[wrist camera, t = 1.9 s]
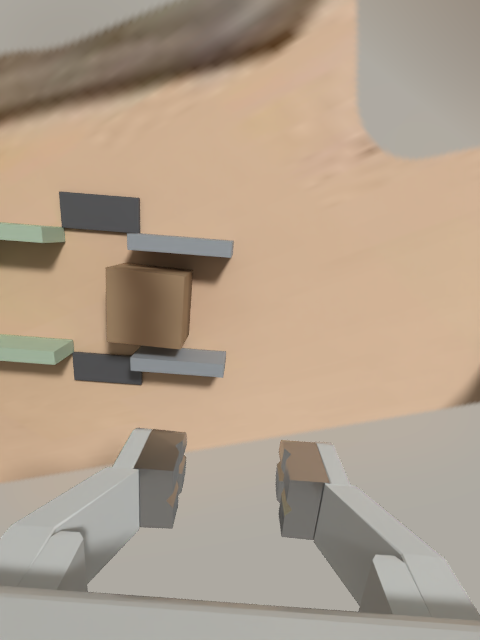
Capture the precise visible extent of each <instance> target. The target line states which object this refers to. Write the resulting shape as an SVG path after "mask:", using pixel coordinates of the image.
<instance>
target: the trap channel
mask: <svg viewBox="0 0 480 640" xmlns="http://www.w3.org/2000/svg"><path fill="white" fill-rule="evenodd" d="M59 197H60V209H61V221H62V227H52V226H39V225H27V224H14V223H2V222H0V240H12V241H24V242H37V243H53V242H65V233H64V228H76V229H89V230H101V231H114V232H127V248H128V250H139V251H152V252H164V253H177V254H190V255H202V256H215V257H228V258H231V257H232V255H233V243H234V241H229V240H216V239H204V238H191V237H178V236H166V235H153V234H141V233H140V198H132V197H120V196H107V195H95V194H82V193H70V192H59ZM70 354H73V367H74V379H75V380H86V381H99V382H112V383H125V384H139V385H142V371H143V372H156V373H170V374H183V375H196V376H209V377H222V378H223V375H224V369H225V360H226V352H224V351H211V350H198V349H185V348H181V350H180V349H171V348H161V347H152V346H141V347H140V348H139V349H138V350H137V351H136V352H135V353H134V354H133V355H132V356H124V355H110V354H97V353H84V352H74V344H73V340H67V339H54V338H41V337H28V336H15V335H2V334H0V361H11V362H25V363H38V364H51V365H56V364H57V363H59V362H60V361H61V360H63V359H64V358H66V357H67V356H69V355H70Z"/></svg>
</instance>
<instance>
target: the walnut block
mask: <svg viewBox="0 0 480 640" xmlns="http://www.w3.org/2000/svg"><path fill="white" fill-rule="evenodd" d="M192 276H193V270H185V269H175V268H166V267H157V266H148V265H139V264H129V263H123V264H119V265H115V266H111V267H107V268H106V317H107V342H113V343H123V344H133V345H142V346H152V347H161V348H171V349H180V350H181V348H182V346H183V344H184V342H185V341H186V339H187V337H188V335H189V324H190V308H191V292H192Z"/></svg>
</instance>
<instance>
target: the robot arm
mask: <svg viewBox="0 0 480 640" xmlns="http://www.w3.org/2000/svg"><path fill="white" fill-rule="evenodd" d="M186 445H187V434H186V432H176V431H166V430H156V429H153V430H152V429H144V428H136V429H134V430H133V431H132V433H131V435H130V436H129V438H128V440H127V442H126V443H125V445H124V447H123V449H122V450H121V452H120V454H119V456H118V457H117V459H116V461H115V463H114V464H113V466H112V467H105V468H104V469H102V470H101V471H99V472H97V473H96V474H94V475H93V476H91V477H89V478H87V479H86V480H84V481H83V482H81V483H79V484H78V485H76V486H74V487H73V488H71V489H70V490H68V491H66V492H65V493H63V494H61V495H60V496H58V497H56V498H55V499H53V500H51V501H50V502H48V503H47V504H45V505H44V506H42V507H40V508H38V509H37V510H35V511H33V512H32V513H30V514H28V515H27V516H25V517H24V518H22V519H20V520H19V521H17V522H15V523H14V524H12V525H11V526H10V527H9V529H7V531H6V532H5V533H4V534H3V536H2V537H1V538H0V640H480V615H479V613H478V611H477V609H476V608H475V606H474V605H473V603H472V602H471V600H470V598H469V597H468V595H467V593H466V592H465V590H464V588H463V587H462V585H461V584H460V582H459V580H458V579H457V577H456V576H455V574H454V572H453V571H452V569H451V568H450V566H449V564H448V562H447V561H446V559H445V558H444V557H443V556H442V555H440V554H439V553H438V552H437V551H435V550H434V549H433V548H432V547H430V546H429V545H428V544H427V543H426V542H424V541H423V540H422V539H421V538H420V537H418V536H417V535H416V534H415V533H413V532H412V531H411V530H410V529H409V528H407V527H406V526H405V525H404V524H402V523H401V522H400V521H399V520H398V519H396V518H395V517H394V516H393V515H391V514H390V513H389V512H388V511H387V510H385V509H384V508H383V507H382V506H381V505H379V504H378V503H377V502H376V501H374V500H373V499H372V498H371V497H370V496H368V495H367V494H366V493H365V492H363V491H362V490H361V489H360V488H358V487H357V486H352V485H351V484H350V481H349V479H348V477H347V475H346V472H345V470H344V468H343V465H342V463H341V461H340V458H339V456H338V454H337V451H336V449H335V447H334V445H333V444H332V443H328V442H299V441H286V440H281V442H280V448H279V455H280V462H279V463H278V464H277V471H276V495H277V500H278V501H279V503H280V508H279V519H280V528H281V536H282V537H289V538H299V539H308V540H314V543H315V544H316V546H317V547H318V549H319V550H320V551H321V552H322V554H323V555H324V557H325V558H326V560H327V561H328V562H329V564H330V565H331V567H332V568H333V569H334V571H335V572H336V574H337V575H338V576H339V578H340V579H341V581H342V582H343V583H344V585H345V586H346V587H347V589H348V590H349V592H350V593H351V594H352V596H353V597H354V599H355V600H356V601H357V603H358V604H359V606H360V608H359V612H353V611H340V610H324V609H311V608H298V607H284V606H271V605H257V604H243V603H230V602H216V601H203V600H189V599H176V598H162V597H147V596H134V595H120V594H106V593H93V592H88V591H87V584H88V583H89V582H90V580H92V578H94V577H95V575H96V574H97V573H98V572H99V571H100V570H101V569H102V568H103V567H104V566H105V565H106V564H107V563H108V562H109V561H110V560H111V559H112V558H113V556H115V554H116V553H117V552H118V551H119V550H120V549H121V548H122V547H123V546H124V545H125V544H126V543H127V542H128V541H129V540H130V539H131V537H133V536H134V534H135V533H136V532H137V531H138V530H139V527H149V528H151V527H152V528H172V527H173V523H174V519H175V515H176V511H177V508H178V495H179V494H180V493H181V491H182V487H183V482H184V476H185V468H186V467H185V466H186V456H185V455H184V453H185V449H186Z"/></svg>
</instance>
